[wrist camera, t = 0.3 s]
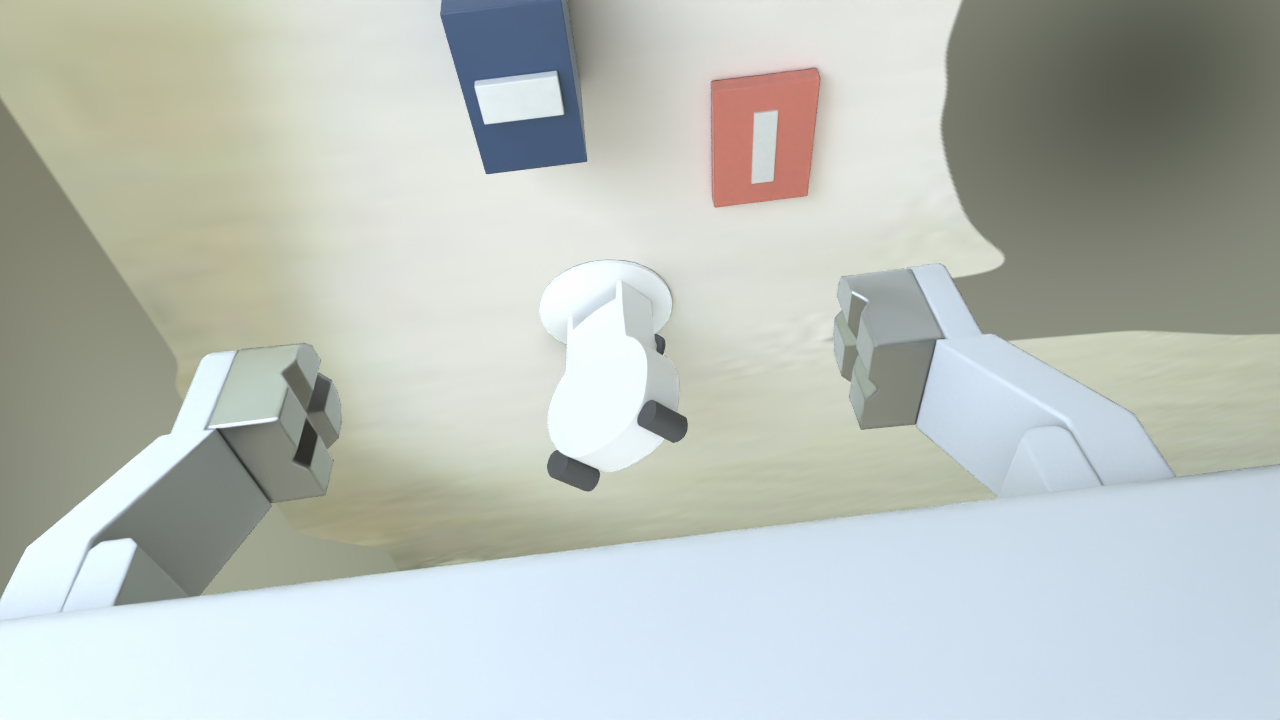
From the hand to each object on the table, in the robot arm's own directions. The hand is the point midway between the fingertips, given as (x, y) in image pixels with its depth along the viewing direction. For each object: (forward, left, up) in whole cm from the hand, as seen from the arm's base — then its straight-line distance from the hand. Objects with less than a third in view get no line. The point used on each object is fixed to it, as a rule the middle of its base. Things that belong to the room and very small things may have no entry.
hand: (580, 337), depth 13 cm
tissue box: (+16, -4, -39) cm, 42 cm away
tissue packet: (+27, +11, -39) cm, 48 cm away
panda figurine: (+43, -2, -39) cm, 58 cm away
